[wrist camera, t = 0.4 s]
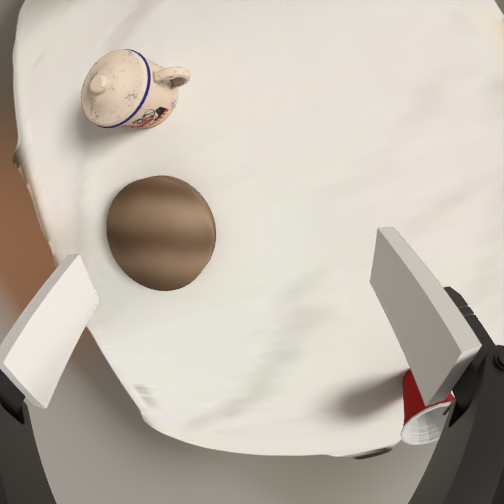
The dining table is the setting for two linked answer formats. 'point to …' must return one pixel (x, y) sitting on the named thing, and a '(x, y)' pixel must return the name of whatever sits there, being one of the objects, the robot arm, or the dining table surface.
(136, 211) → the brown round disc
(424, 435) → the plastic cup
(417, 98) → the dining table surface
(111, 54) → the teacup with lid
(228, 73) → the dining table surface
